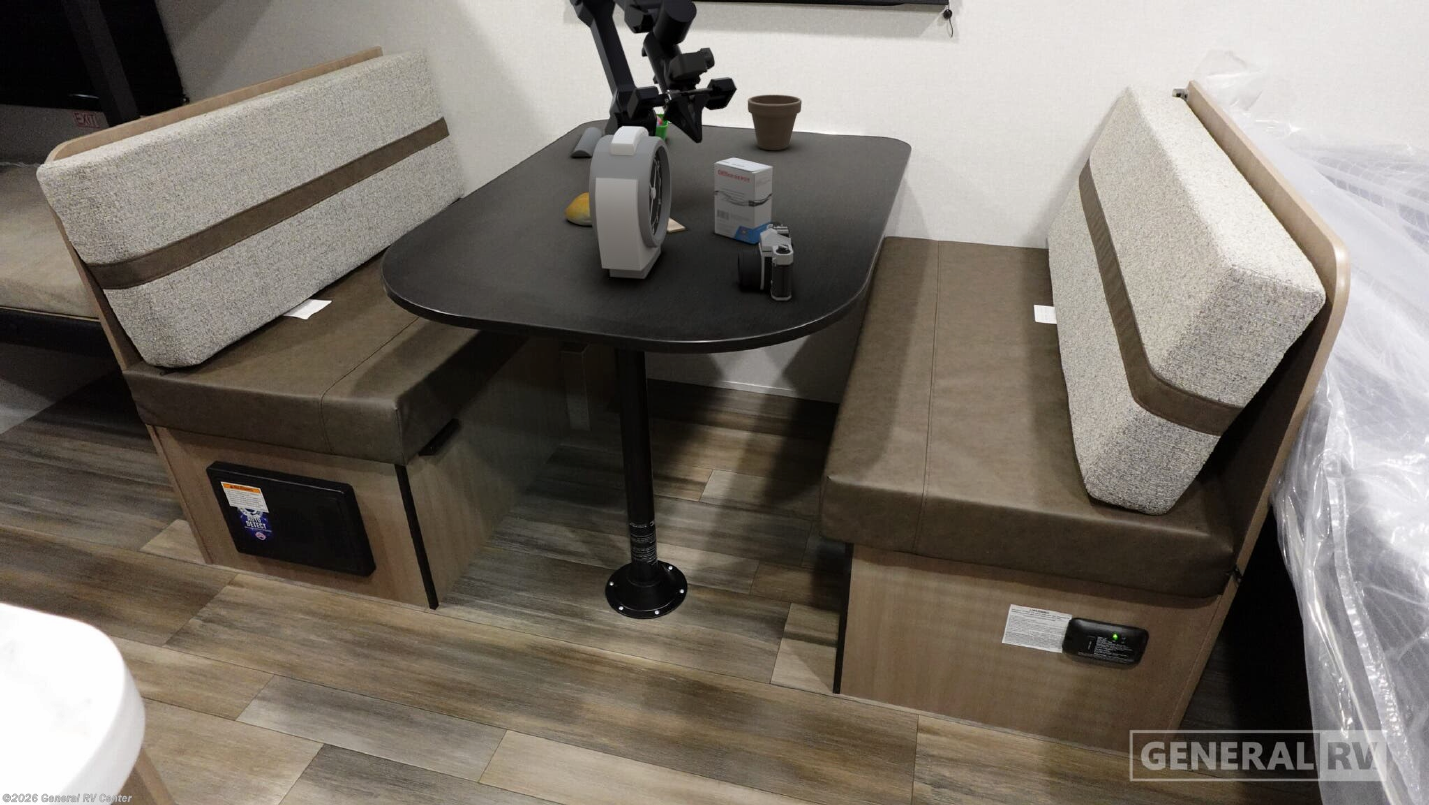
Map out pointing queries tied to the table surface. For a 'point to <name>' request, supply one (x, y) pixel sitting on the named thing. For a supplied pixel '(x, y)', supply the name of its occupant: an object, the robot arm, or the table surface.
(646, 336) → the table surface
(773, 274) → the camera
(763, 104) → the flower pot
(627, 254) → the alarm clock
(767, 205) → the ink box
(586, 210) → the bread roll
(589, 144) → the half round rod
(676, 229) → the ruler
